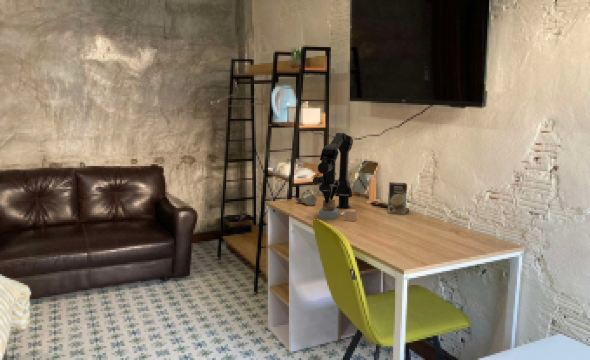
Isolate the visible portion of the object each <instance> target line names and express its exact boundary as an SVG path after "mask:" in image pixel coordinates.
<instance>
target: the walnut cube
mask: <svg viewBox="0 0 590 360" xmlns="http://www.w3.org/2000/svg"><path fill="white" fill-rule="evenodd" d="M322 208H323V211H333V210H334V209H335V208H336V199H332V200H330V199H329V201H328V203H326V202H325V199H324V200H322Z"/></svg>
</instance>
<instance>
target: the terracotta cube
mask: <svg viewBox="0 0 590 360" xmlns="http://www.w3.org/2000/svg"><path fill="white" fill-rule="evenodd" d="M344 212H345V216H344V222H355V221H356V220H357V212H358V211H357V209H351V208H345V210H344Z"/></svg>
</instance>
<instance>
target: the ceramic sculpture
mask: <svg viewBox="0 0 590 360" xmlns="http://www.w3.org/2000/svg"><path fill="white" fill-rule="evenodd" d="M317 199H318V198H317V197H316V195H315V194H313V192H312V191H311V190H310V189H307V190H306V191H303V192H302V193H301V195H300V197H295V200H296V201H297V203H302V204H305V205H307V206H309V207H311V206H315V205H316V203H317Z"/></svg>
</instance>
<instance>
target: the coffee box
mask: <svg viewBox="0 0 590 360" xmlns="http://www.w3.org/2000/svg"><path fill="white" fill-rule="evenodd" d="M407 190H408V184H407V183H406V182H389V183H388V195H387V196H388V197H387V198H388V199H387V213H388V214H389V215H392V214H393V215H406V210H407V209H406V208H407Z"/></svg>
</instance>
